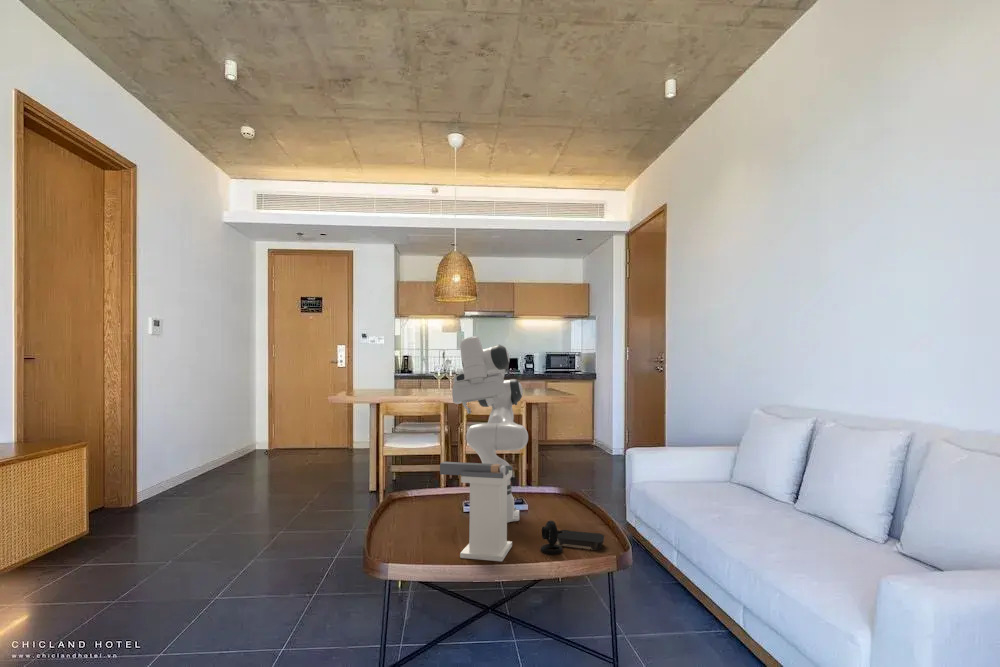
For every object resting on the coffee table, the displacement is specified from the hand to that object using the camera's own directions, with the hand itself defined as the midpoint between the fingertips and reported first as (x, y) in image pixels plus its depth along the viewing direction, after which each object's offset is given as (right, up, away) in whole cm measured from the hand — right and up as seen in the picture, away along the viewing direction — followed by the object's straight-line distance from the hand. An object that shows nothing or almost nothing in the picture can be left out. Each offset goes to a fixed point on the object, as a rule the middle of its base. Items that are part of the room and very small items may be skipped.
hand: (481, 411), depth 196 cm
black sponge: (+35, -46, -12) cm, 59 cm away
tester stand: (+2, -44, -20) cm, 49 cm away
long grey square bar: (-3, -18, -21) cm, 28 cm away
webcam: (+24, -45, -19) cm, 54 cm away
